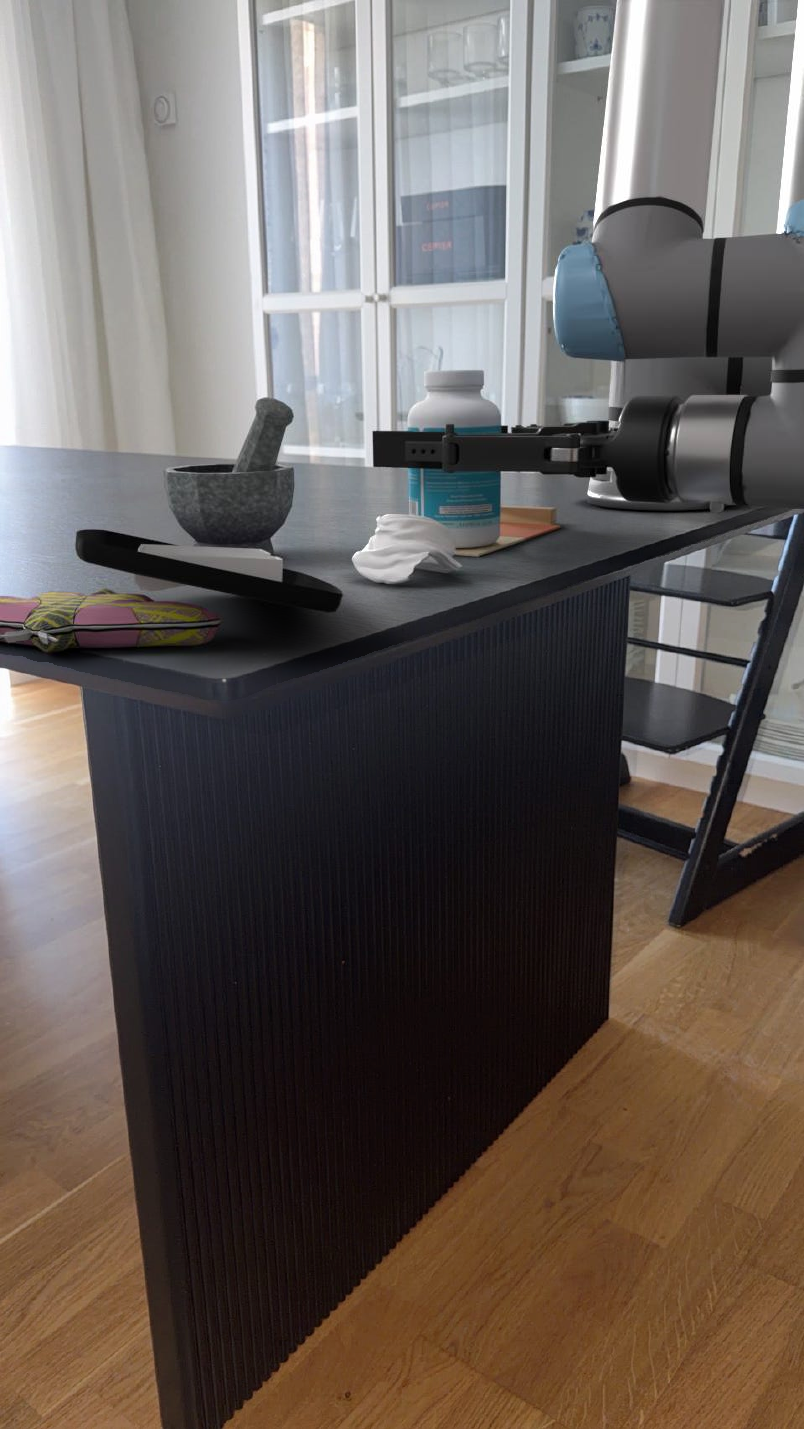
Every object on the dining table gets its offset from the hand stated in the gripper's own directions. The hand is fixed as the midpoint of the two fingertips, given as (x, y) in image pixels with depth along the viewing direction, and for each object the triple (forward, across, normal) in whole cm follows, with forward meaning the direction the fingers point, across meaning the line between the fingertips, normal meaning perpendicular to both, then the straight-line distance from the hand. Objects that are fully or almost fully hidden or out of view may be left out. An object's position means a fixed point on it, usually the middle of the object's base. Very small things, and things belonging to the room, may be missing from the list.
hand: (407, 445), depth 87 cm
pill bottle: (-4, 0, -8) cm, 9 cm away
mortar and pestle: (+8, -13, -8) cm, 17 cm away
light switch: (+1, -37, -3) cm, 37 cm away
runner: (-4, +5, -8) cm, 10 cm away
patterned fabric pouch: (+1, -34, -7) cm, 34 cm away
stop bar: (-4, +15, -8) cm, 17 cm away
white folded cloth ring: (-7, -14, -8) cm, 18 cm away
